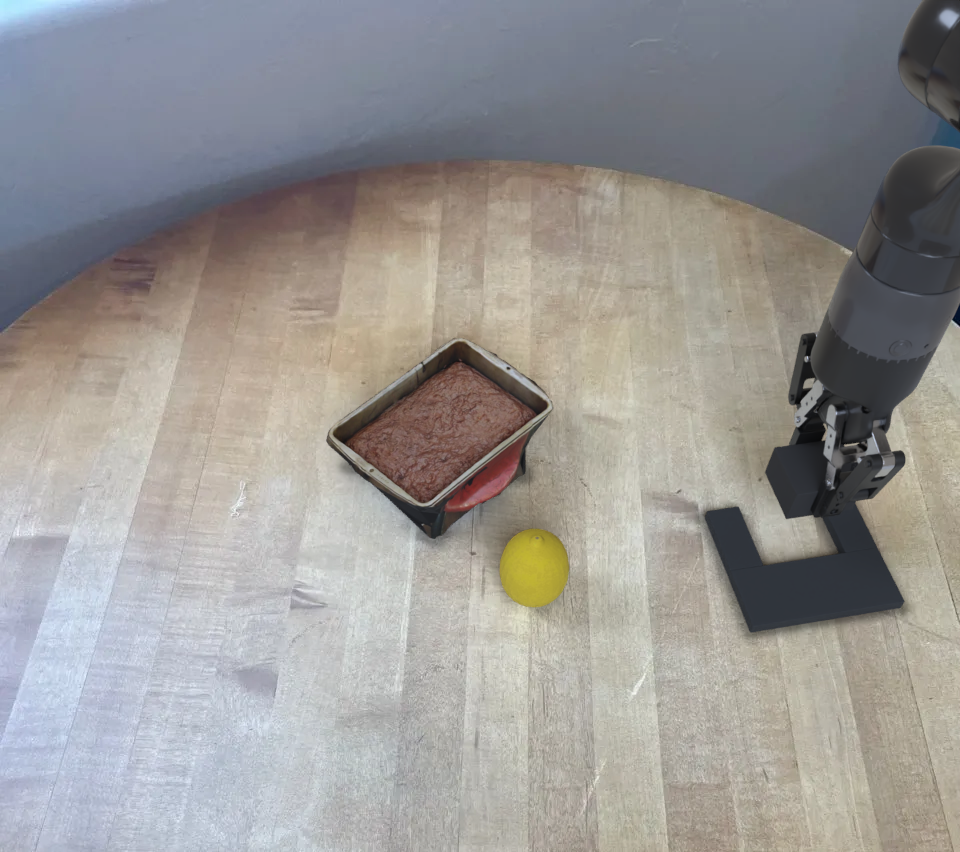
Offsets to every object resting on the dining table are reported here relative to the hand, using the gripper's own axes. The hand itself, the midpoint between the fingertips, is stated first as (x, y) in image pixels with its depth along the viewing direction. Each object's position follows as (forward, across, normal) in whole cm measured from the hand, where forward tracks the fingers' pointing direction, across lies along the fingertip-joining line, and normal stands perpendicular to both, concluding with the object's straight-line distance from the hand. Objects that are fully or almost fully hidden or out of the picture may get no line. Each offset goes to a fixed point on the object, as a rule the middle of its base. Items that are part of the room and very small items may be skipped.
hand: (810, 485), depth 80 cm
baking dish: (+7, +13, +28) cm, 32 cm away
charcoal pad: (+7, -3, 0) cm, 8 cm away
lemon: (+7, -2, +23) cm, 24 cm away
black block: (+1, 0, 0) cm, 1 cm away
